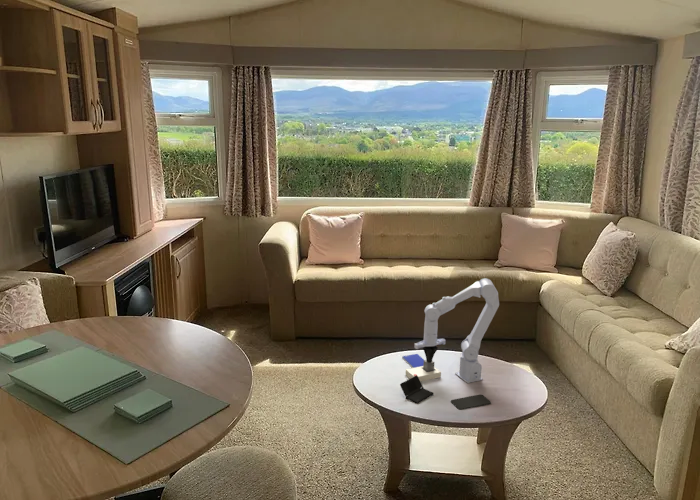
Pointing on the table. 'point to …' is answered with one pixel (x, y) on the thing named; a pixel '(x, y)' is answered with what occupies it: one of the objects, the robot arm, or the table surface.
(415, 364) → the hard drive
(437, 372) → the socket plate
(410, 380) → the handheld gaming console
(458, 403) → the phone
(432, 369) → the plug
